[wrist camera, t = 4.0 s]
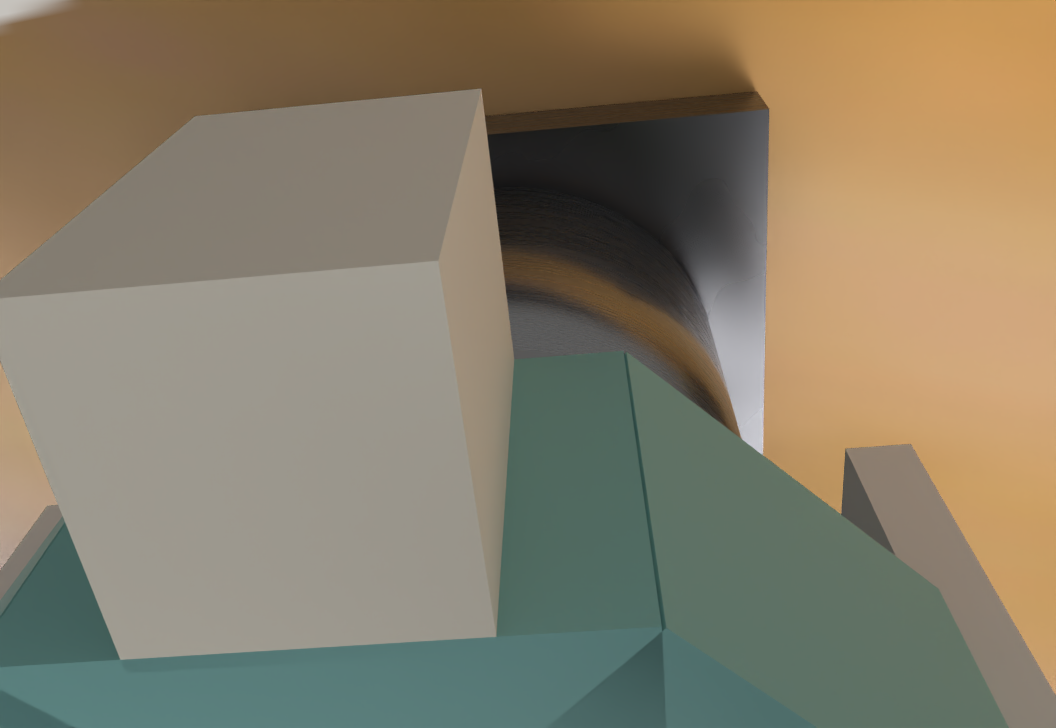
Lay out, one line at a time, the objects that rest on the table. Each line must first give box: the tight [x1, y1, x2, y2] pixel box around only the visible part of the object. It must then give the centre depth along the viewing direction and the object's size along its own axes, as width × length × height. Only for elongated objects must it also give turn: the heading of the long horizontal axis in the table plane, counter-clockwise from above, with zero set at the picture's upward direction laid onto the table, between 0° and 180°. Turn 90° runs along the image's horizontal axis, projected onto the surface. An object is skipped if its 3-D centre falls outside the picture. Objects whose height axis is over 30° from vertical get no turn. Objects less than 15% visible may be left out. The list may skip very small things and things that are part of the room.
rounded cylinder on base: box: [485, 92, 769, 455], centre depth 13 cm, size 8×8×10 cm
